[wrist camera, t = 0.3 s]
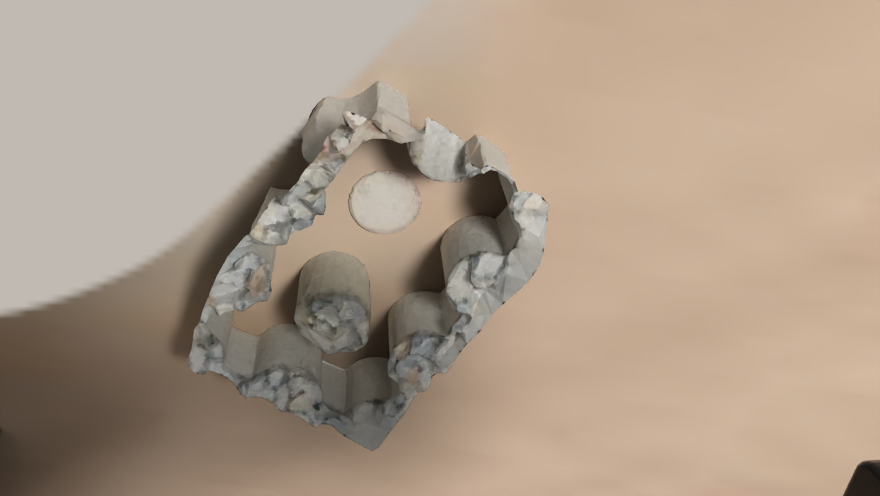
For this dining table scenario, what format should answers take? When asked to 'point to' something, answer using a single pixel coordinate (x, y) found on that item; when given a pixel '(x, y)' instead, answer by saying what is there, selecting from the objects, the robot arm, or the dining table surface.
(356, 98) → the egg carton
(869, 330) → the dining table surface
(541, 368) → the dining table surface
